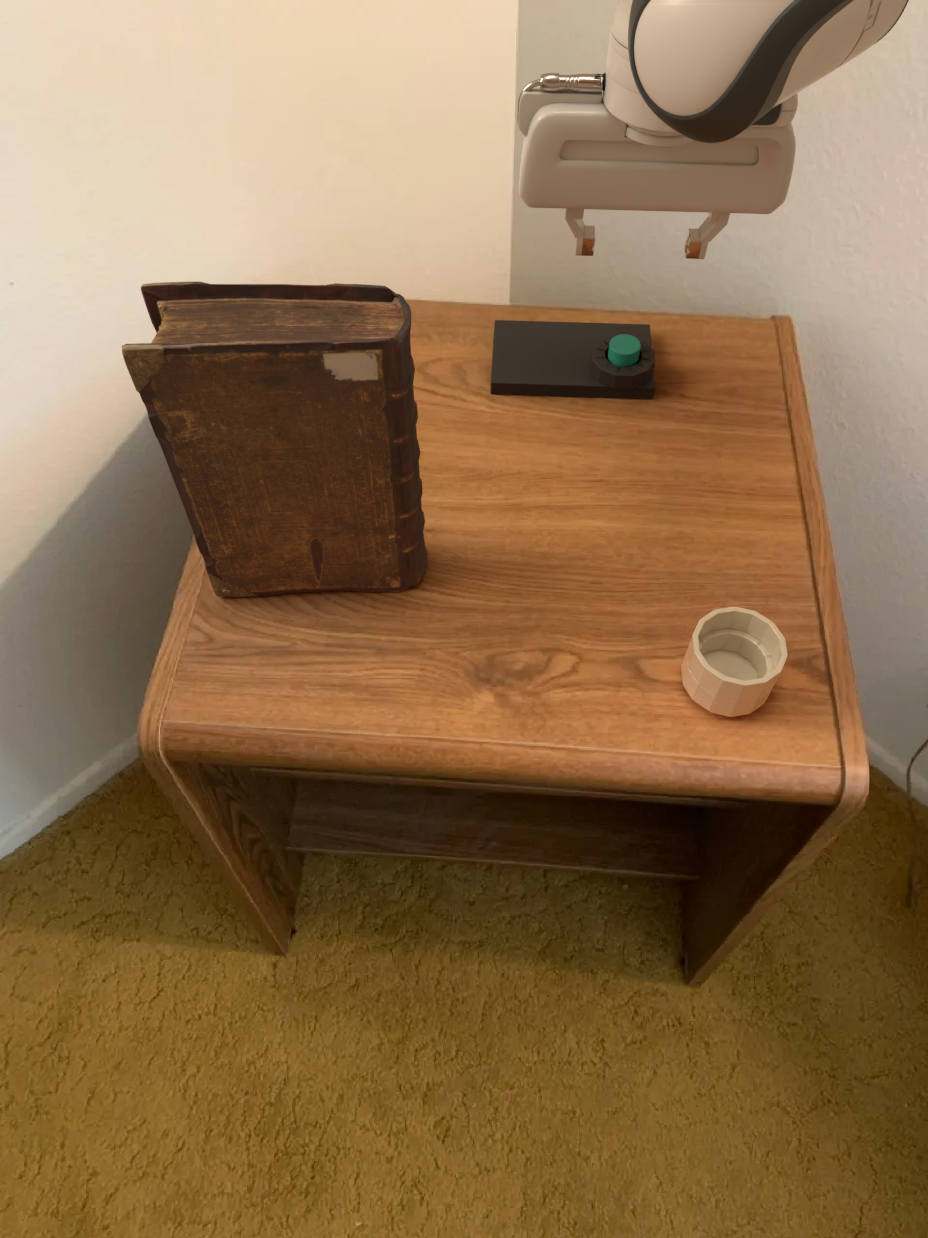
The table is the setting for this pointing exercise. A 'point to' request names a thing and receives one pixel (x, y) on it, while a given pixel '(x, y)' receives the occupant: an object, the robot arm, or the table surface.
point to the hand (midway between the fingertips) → (638, 253)
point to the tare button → (624, 350)
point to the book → (288, 432)
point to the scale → (568, 360)
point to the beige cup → (733, 661)
